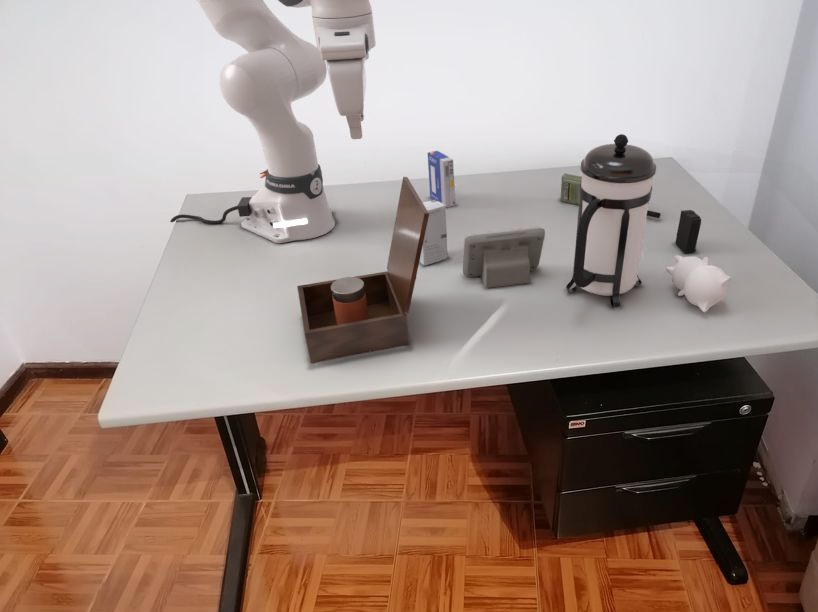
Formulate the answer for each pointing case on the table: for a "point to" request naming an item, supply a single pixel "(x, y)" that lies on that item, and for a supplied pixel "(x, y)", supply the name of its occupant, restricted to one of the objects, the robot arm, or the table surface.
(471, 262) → the digital clock
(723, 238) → the table surface
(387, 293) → the chest
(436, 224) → the cosmetic box
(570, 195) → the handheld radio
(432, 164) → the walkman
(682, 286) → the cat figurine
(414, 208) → the lid
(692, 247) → the ink cartridge
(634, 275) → the coffee press
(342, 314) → the can
